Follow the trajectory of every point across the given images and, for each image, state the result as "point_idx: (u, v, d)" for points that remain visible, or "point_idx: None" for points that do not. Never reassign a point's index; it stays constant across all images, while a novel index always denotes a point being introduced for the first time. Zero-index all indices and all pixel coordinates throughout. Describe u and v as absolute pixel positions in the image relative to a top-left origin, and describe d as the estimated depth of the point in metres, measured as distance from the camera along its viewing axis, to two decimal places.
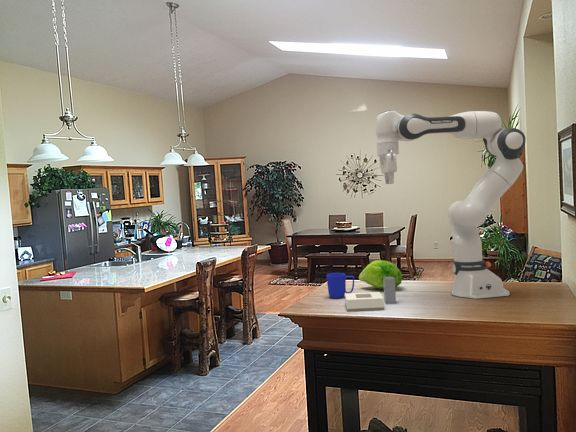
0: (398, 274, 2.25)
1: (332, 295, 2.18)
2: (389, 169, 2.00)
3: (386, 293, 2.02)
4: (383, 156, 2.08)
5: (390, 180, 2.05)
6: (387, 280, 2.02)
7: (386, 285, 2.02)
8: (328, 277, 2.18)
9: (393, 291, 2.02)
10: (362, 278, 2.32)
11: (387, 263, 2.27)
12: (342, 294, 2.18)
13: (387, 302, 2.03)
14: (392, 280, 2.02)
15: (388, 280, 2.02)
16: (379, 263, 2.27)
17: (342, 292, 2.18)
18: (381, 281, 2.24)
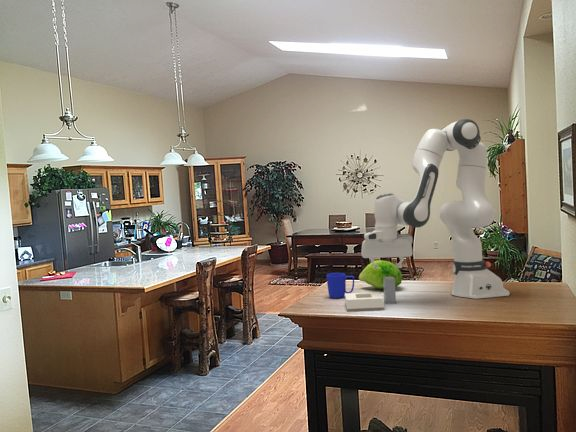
0: (398, 274, 2.25)
1: (332, 295, 2.18)
2: (412, 253, 2.02)
3: (386, 293, 2.02)
4: (392, 240, 2.01)
5: None
6: (387, 280, 2.02)
7: (386, 285, 2.02)
8: (328, 277, 2.18)
9: (393, 291, 2.02)
10: (362, 278, 2.32)
11: (387, 263, 2.27)
12: (342, 294, 2.18)
13: (387, 302, 2.03)
14: (392, 280, 2.02)
15: (388, 280, 2.02)
16: (379, 263, 2.27)
17: (342, 292, 2.18)
18: (381, 281, 2.24)
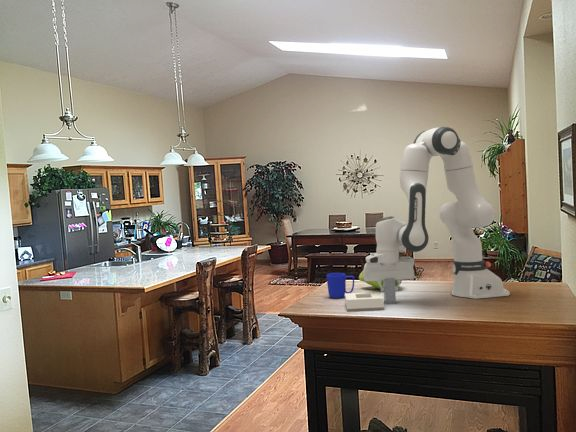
0: None
1: (332, 295, 2.18)
2: None
3: (386, 293, 2.02)
4: (394, 263, 2.02)
5: None
6: (387, 279, 2.02)
7: (386, 285, 2.02)
8: (328, 277, 2.18)
9: (393, 290, 2.02)
10: (362, 278, 2.32)
11: None
12: (342, 294, 2.18)
13: (387, 302, 2.03)
14: (392, 280, 2.02)
15: (388, 280, 2.02)
16: None
17: (342, 292, 2.18)
18: (381, 281, 2.24)
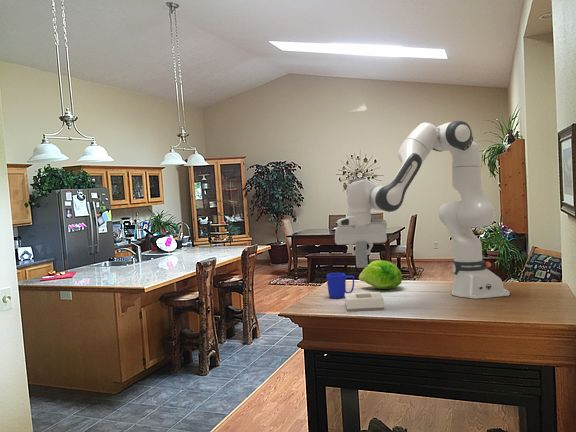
0: (398, 274, 2.25)
1: (332, 295, 2.18)
2: (386, 239, 1.97)
3: (358, 256, 1.96)
4: (366, 226, 1.96)
5: None
6: (358, 243, 1.96)
7: (358, 248, 1.96)
8: (328, 277, 2.18)
9: (365, 254, 1.96)
10: (362, 278, 2.32)
11: (387, 263, 2.27)
12: (342, 294, 2.18)
13: (359, 266, 1.96)
14: (364, 243, 1.96)
15: (360, 243, 1.96)
16: (379, 263, 2.27)
17: (342, 292, 2.18)
18: (381, 281, 2.24)
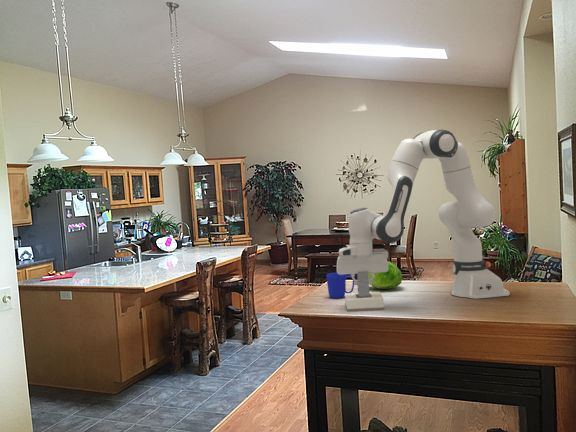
0: (398, 274, 2.25)
1: (332, 295, 2.18)
2: (388, 269, 1.97)
3: (359, 286, 1.97)
4: (367, 256, 1.96)
5: (371, 280, 1.99)
6: (360, 273, 1.96)
7: (359, 278, 1.97)
8: (328, 277, 2.18)
9: (367, 284, 1.97)
10: None
11: None
12: (342, 294, 2.18)
13: (360, 296, 1.97)
14: (365, 273, 1.96)
15: (361, 273, 1.96)
16: None
17: (342, 292, 2.18)
18: (381, 281, 2.24)
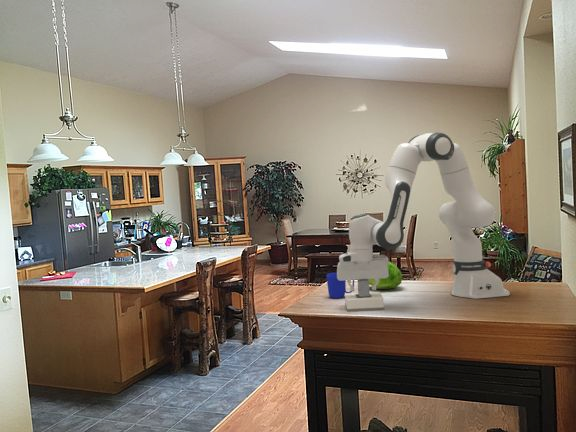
0: (398, 274, 2.25)
1: (332, 295, 2.18)
2: None
3: (360, 295, 1.97)
4: (367, 262, 1.96)
5: None
6: (361, 281, 1.97)
7: (360, 287, 1.97)
8: (328, 277, 2.18)
9: (367, 292, 1.97)
10: None
11: None
12: (342, 294, 2.18)
13: None
14: (366, 282, 1.97)
15: (362, 282, 1.97)
16: None
17: (342, 292, 2.18)
18: (381, 281, 2.24)
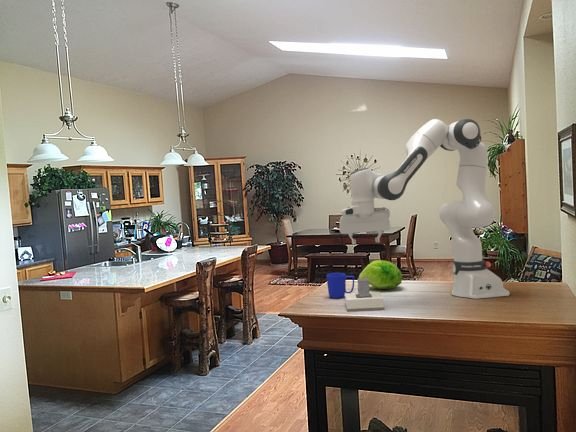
0: (398, 274, 2.25)
1: (332, 295, 2.18)
2: None
3: (360, 295, 1.97)
4: (369, 214, 2.01)
5: None
6: (361, 281, 1.97)
7: (360, 287, 1.97)
8: (328, 277, 2.18)
9: (367, 292, 1.97)
10: None
11: (387, 263, 2.27)
12: (342, 294, 2.18)
13: None
14: (366, 282, 1.97)
15: (362, 282, 1.97)
16: (379, 263, 2.27)
17: (342, 292, 2.18)
18: (381, 281, 2.24)
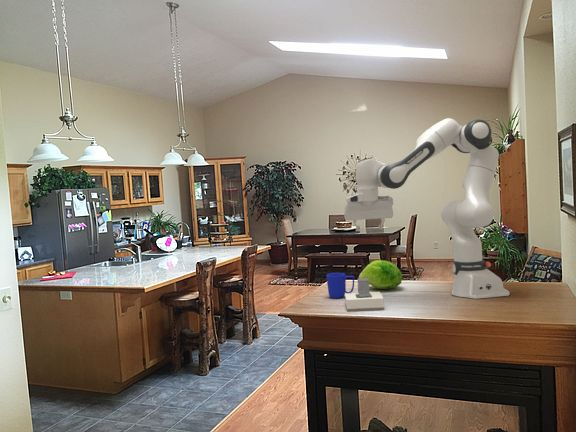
0: (398, 274, 2.25)
1: (332, 295, 2.18)
2: None
3: (360, 295, 1.97)
4: (373, 202, 2.09)
5: None
6: (361, 281, 1.97)
7: (360, 287, 1.97)
8: (328, 277, 2.18)
9: (367, 292, 1.97)
10: None
11: (387, 263, 2.27)
12: (342, 294, 2.18)
13: None
14: (366, 282, 1.97)
15: (362, 282, 1.97)
16: (379, 263, 2.27)
17: (342, 292, 2.18)
18: (381, 281, 2.24)
